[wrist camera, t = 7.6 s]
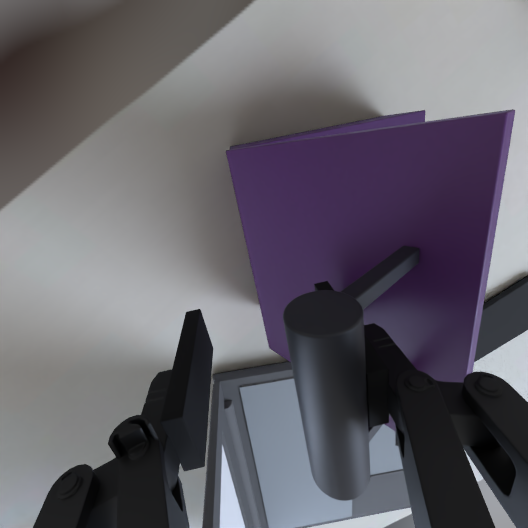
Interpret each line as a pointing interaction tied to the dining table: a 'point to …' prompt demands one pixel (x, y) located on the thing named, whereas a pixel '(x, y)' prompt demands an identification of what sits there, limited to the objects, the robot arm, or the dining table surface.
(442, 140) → the purple box lid
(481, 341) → the phone
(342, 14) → the dining table surface
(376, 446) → the laptop
